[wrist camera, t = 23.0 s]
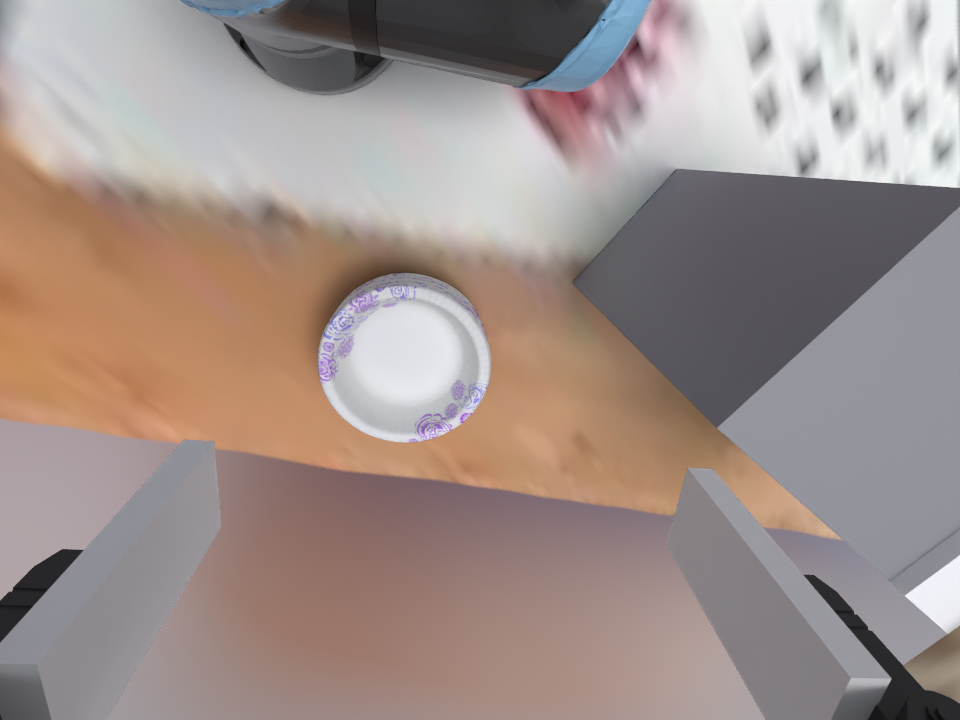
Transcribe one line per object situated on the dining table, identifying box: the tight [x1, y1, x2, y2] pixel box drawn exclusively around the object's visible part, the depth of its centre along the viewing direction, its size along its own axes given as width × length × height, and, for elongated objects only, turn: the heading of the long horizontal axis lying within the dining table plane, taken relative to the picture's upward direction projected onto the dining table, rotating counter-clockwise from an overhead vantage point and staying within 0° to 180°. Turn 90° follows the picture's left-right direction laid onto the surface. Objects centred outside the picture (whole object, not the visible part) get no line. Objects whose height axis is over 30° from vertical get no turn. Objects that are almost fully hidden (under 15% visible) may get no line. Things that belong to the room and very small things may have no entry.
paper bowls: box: [318, 273, 491, 442], centre depth 50 cm, size 15×15×8 cm
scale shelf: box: [572, 169, 960, 634], centre depth 41 cm, size 14×29×31 cm, turn 49°
